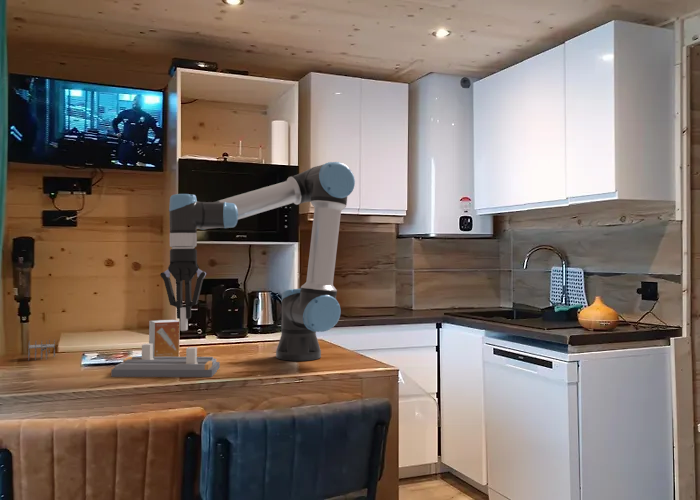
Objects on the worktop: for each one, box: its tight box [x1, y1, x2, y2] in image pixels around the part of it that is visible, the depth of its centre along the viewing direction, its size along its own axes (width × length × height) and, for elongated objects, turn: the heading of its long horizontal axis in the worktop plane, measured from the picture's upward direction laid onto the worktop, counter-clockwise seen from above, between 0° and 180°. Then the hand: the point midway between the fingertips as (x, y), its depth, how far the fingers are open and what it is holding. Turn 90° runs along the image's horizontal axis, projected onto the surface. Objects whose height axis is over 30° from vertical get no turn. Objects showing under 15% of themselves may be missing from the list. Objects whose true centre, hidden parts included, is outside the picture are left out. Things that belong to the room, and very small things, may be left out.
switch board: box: [110, 356, 221, 378], centre depth 182 cm, size 28×13×4 cm, turn 92°
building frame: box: [27, 338, 56, 362], centre depth 202 cm, size 6×8×6 cm
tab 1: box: [141, 342, 154, 360], centre depth 185 cm, size 3×3×5 cm
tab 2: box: [185, 346, 198, 364], centre depth 178 cm, size 3×3×5 cm
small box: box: [148, 319, 180, 357], centre depth 200 cm, size 8×6×13 cm
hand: (184, 330), depth 179 cm, fingers closed
